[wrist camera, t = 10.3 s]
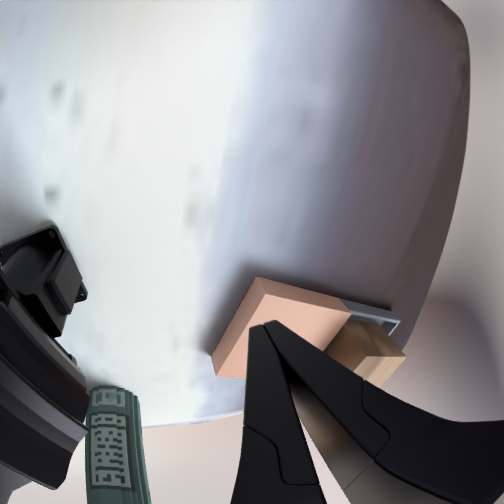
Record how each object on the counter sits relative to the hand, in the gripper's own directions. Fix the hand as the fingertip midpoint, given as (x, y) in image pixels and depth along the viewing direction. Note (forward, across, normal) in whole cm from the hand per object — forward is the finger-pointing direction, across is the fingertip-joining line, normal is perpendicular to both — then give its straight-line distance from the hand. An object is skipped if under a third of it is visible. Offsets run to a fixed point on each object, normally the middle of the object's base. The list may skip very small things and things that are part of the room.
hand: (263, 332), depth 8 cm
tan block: (+10, -9, +18) cm, 22 cm away
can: (+13, +16, +20) cm, 29 cm away
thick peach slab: (+13, -4, +15) cm, 20 cm away
